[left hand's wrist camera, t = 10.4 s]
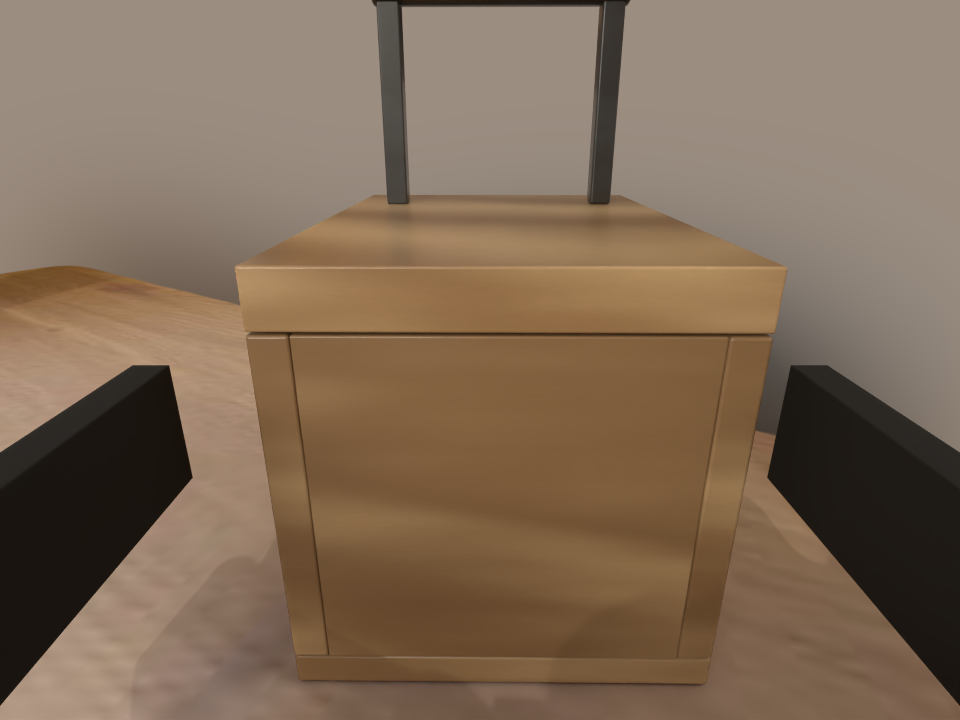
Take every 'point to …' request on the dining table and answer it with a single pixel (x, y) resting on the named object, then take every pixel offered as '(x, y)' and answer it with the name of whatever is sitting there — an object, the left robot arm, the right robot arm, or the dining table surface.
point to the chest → (506, 499)
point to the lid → (507, 244)
